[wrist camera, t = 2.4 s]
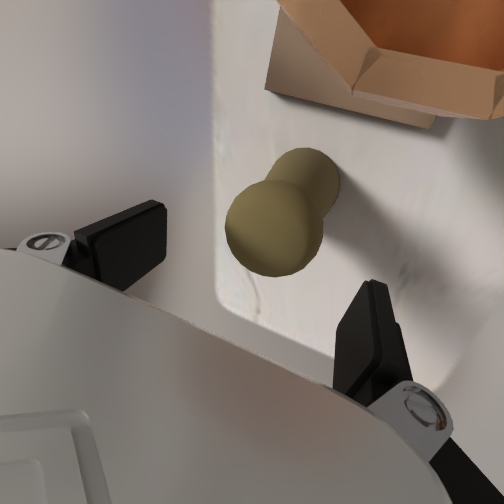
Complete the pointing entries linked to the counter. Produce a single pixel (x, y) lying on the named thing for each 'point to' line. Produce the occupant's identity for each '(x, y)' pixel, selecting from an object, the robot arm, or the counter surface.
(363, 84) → the cup bracket
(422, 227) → the counter surface
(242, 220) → the cork
